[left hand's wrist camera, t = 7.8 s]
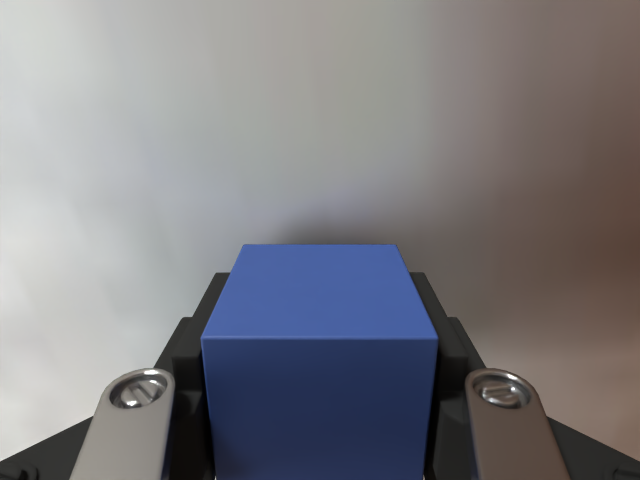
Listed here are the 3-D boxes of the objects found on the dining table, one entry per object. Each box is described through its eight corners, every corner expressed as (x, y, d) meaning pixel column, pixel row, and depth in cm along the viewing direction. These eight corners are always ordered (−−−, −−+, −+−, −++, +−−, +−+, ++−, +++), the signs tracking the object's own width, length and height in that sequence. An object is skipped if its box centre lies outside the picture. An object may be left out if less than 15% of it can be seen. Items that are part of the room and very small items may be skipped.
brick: (243, 243, 12) (199, 337, 7) (396, 243, 12) (439, 337, 7) (251, 375, 13) (219, 514, 9) (387, 375, 13) (419, 515, 9)
